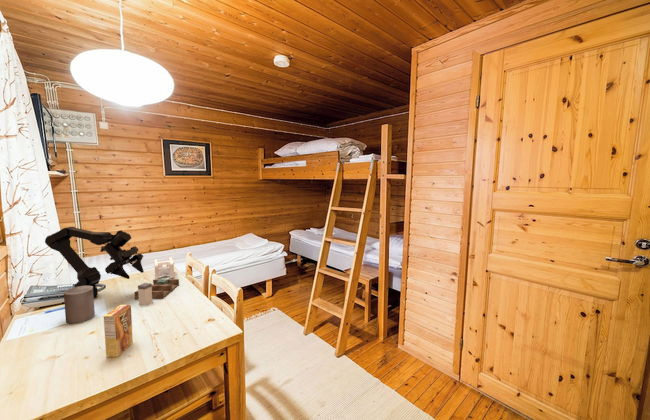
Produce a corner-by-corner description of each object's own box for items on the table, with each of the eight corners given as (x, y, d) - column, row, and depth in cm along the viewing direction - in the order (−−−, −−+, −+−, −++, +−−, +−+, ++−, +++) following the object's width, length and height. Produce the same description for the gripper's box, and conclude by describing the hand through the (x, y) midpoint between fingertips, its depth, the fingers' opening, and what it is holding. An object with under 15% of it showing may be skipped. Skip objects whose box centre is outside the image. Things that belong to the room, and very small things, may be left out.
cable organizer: (155, 275, 176) (154, 258, 175) (173, 272, 182) (172, 256, 181) (155, 282, 163) (154, 264, 162) (175, 279, 169) (174, 261, 168)
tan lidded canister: (145, 305, 133) (144, 286, 132) (138, 305, 134) (137, 285, 133) (152, 302, 137) (151, 283, 136) (145, 301, 138) (144, 282, 137)
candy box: (122, 342, 103) (119, 304, 101) (133, 342, 103) (131, 304, 102) (105, 357, 94) (102, 316, 92) (118, 357, 94) (115, 315, 93)
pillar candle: (62, 320, 118) (58, 288, 116) (89, 311, 127) (86, 281, 125) (71, 326, 114) (68, 293, 112) (99, 316, 122) (97, 285, 120)
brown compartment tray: (134, 299, 140) (134, 290, 139) (154, 286, 158) (154, 277, 158) (162, 299, 141) (162, 289, 140) (179, 285, 159) (178, 277, 159)
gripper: (110, 246, 128) (131, 271, 128) (140, 238, 146) (159, 260, 147) (95, 261, 129) (116, 285, 129) (126, 251, 148) (145, 272, 148)
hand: (136, 275), depth 138 cm, fingers open, 9 cm apart
